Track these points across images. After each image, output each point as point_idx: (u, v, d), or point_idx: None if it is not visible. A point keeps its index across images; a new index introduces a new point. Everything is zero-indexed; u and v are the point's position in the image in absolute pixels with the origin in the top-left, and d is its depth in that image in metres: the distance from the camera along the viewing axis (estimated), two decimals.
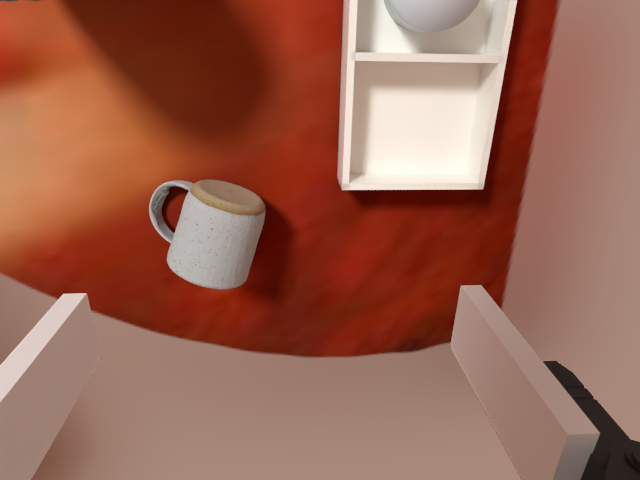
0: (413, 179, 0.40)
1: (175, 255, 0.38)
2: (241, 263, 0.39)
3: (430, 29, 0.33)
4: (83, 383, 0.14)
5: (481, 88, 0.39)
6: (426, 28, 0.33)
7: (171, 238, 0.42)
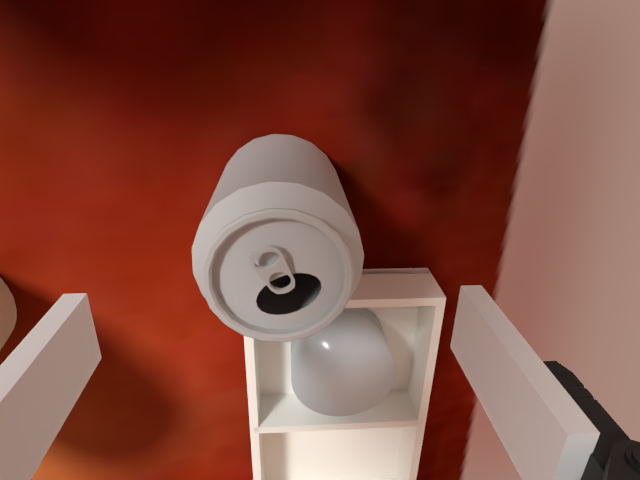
0: None
1: None
2: None
3: (337, 415, 0.31)
4: (83, 383, 0.14)
5: None
6: (332, 414, 0.31)
7: None
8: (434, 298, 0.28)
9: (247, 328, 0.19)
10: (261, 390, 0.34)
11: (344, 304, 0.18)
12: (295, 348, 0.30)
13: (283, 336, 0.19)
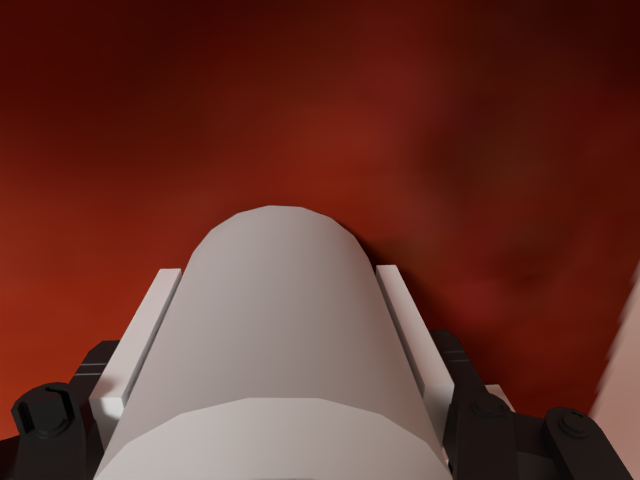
0: None
1: None
2: None
3: None
4: None
5: None
6: None
7: None
8: None
9: None
10: None
11: None
12: None
13: None
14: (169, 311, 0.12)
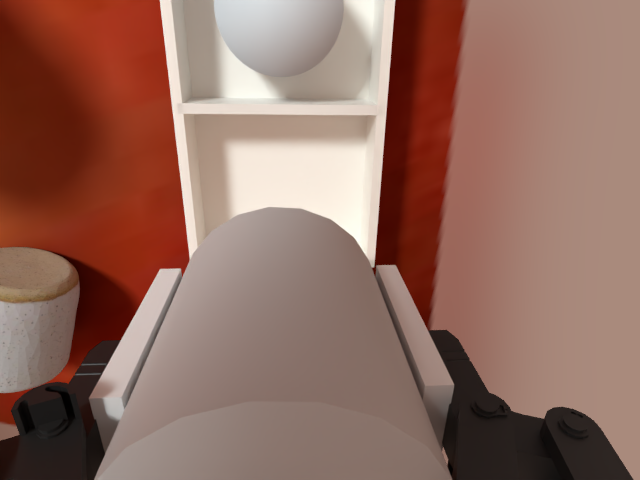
0: None
1: None
2: (37, 359, 0.30)
3: (275, 74, 0.25)
4: None
5: (367, 142, 0.30)
6: (269, 73, 0.25)
7: None
8: None
9: None
10: (193, 90, 0.29)
11: None
12: None
13: None
14: (169, 313, 0.12)
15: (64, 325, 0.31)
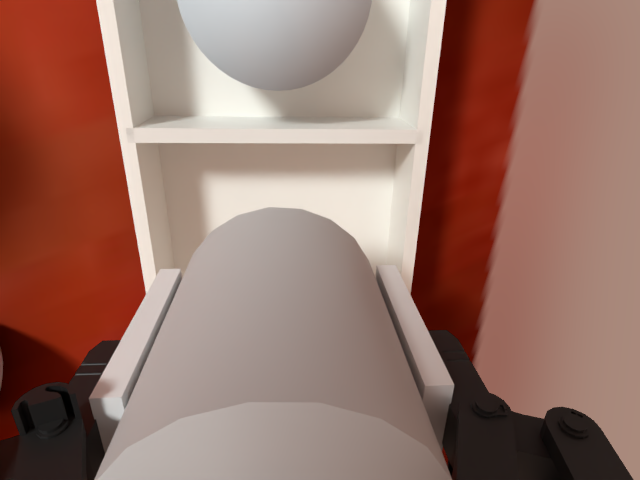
0: None
1: None
2: None
3: (269, 87, 0.17)
4: None
5: (397, 176, 0.22)
6: (260, 85, 0.17)
7: None
8: None
9: None
10: (155, 106, 0.21)
11: None
12: None
13: None
14: (169, 313, 0.12)
15: None
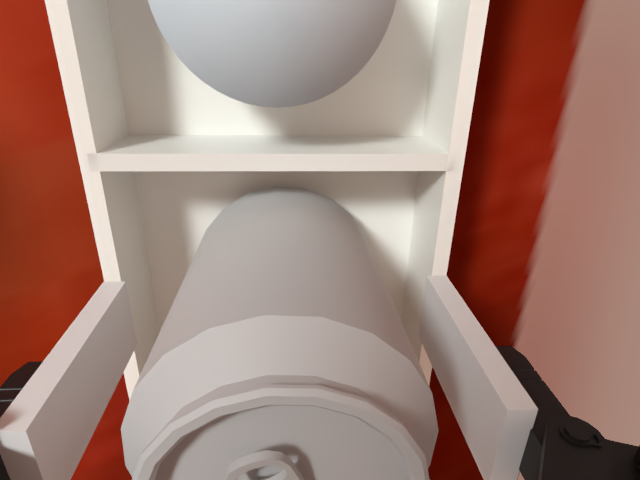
0: None
1: None
2: None
3: (265, 103, 0.13)
4: (123, 366, 0.15)
5: (419, 206, 0.19)
6: (255, 101, 0.13)
7: None
8: None
9: None
10: (129, 123, 0.17)
11: None
12: None
13: None
14: (188, 272, 0.14)
15: None
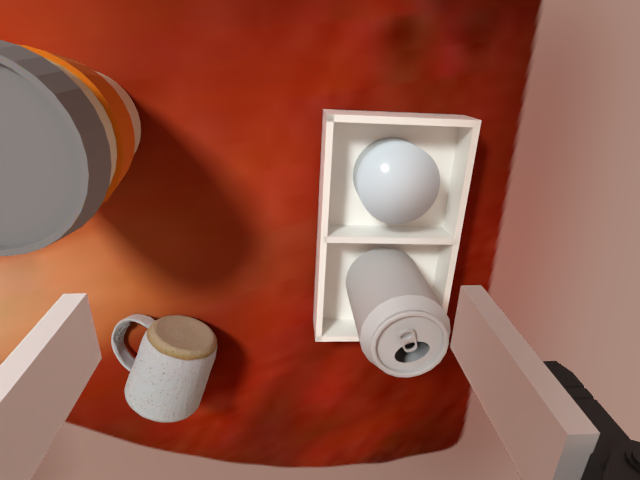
0: None
1: (131, 390, 0.42)
2: (192, 398, 0.42)
3: (392, 222, 0.39)
4: (83, 383, 0.14)
5: (440, 255, 0.44)
6: (388, 222, 0.39)
7: (131, 366, 0.45)
8: (472, 120, 0.36)
9: (388, 369, 0.35)
10: None
11: (441, 359, 0.35)
12: (361, 164, 0.38)
13: (407, 374, 0.35)
14: (360, 281, 0.39)
15: (208, 373, 0.44)
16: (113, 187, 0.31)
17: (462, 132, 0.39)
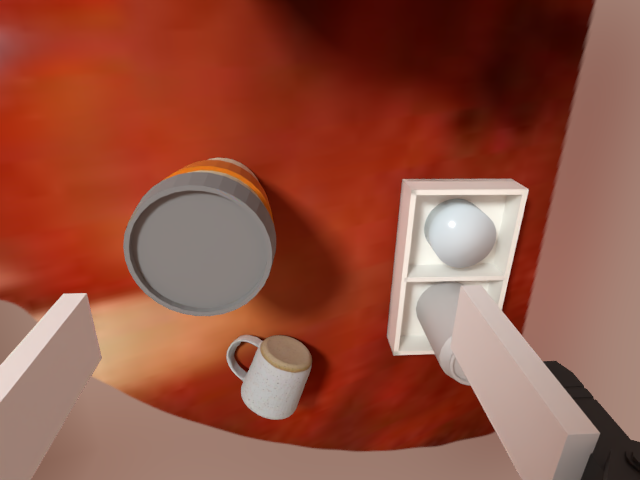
0: None
1: (249, 396, 0.54)
2: (295, 400, 0.55)
3: (458, 266, 0.50)
4: (83, 383, 0.14)
5: (491, 285, 0.55)
6: (455, 266, 0.50)
7: (242, 375, 0.57)
8: (521, 189, 0.48)
9: (461, 380, 0.47)
10: None
11: None
12: (435, 223, 0.49)
13: None
14: (433, 311, 0.51)
15: None
16: None
17: (511, 194, 0.50)
